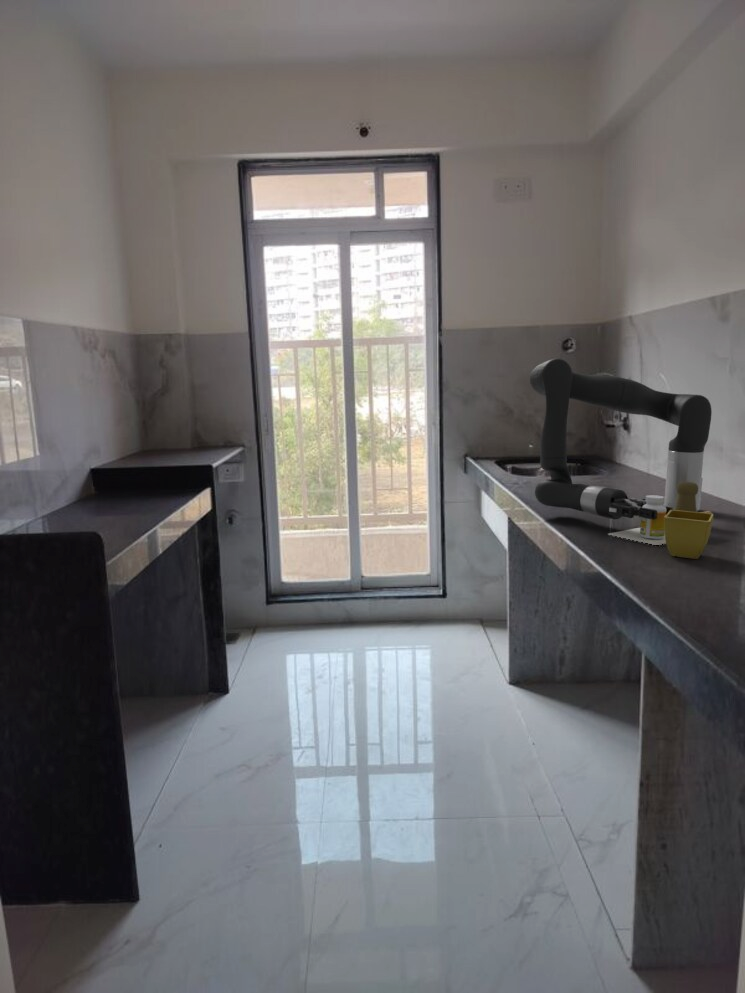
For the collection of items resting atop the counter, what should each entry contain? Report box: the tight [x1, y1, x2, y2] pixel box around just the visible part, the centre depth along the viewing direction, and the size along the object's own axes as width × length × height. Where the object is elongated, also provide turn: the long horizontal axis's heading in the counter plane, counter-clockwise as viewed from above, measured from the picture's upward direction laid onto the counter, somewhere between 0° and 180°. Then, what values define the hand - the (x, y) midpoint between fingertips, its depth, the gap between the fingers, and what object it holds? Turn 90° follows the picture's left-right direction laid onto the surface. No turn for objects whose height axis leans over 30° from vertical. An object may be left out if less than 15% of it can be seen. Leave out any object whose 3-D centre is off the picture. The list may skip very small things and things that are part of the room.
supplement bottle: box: [639, 494, 666, 539], centre depth 155 cm, size 5×5×10 cm
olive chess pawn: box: [675, 482, 698, 512], centre depth 172 cm, size 6×6×11 cm
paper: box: [607, 527, 666, 546], centre depth 160 cm, size 18×13×1 cm
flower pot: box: [664, 510, 715, 560], centre depth 141 cm, size 9×9×9 cm
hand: (663, 513), depth 153 cm, fingers closed on supplement bottle, 5 cm apart
